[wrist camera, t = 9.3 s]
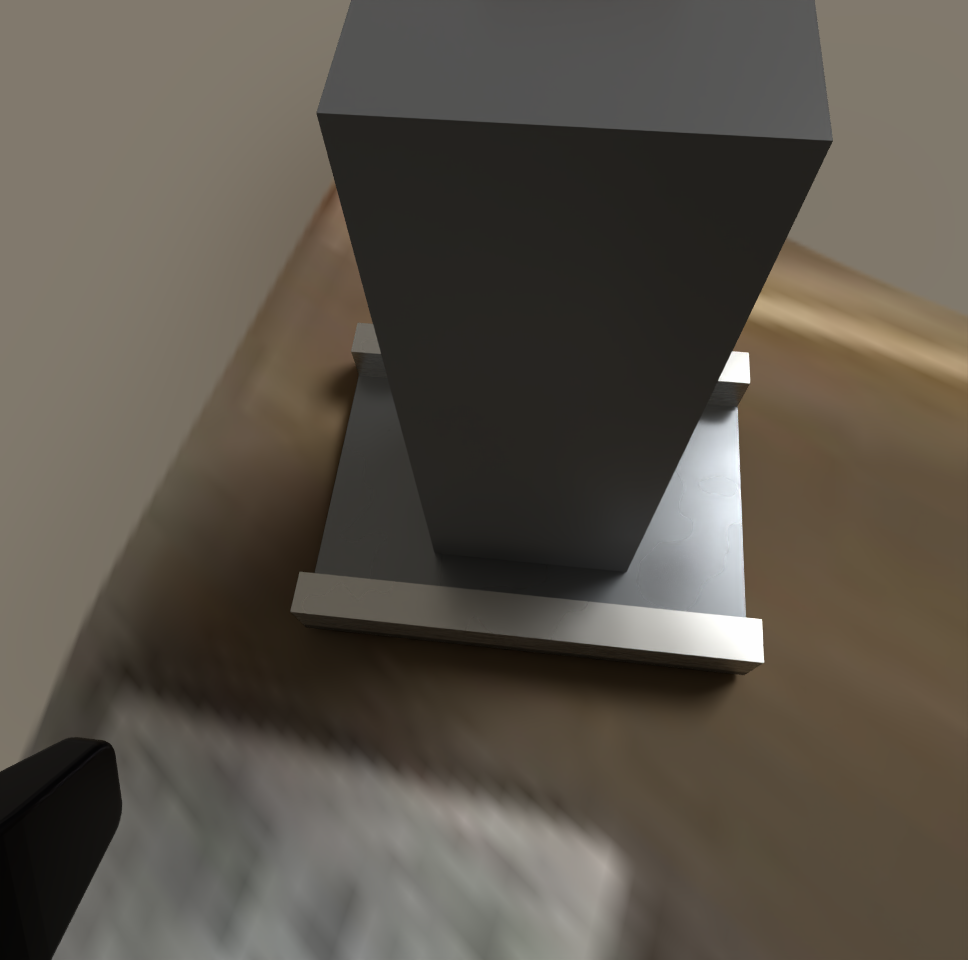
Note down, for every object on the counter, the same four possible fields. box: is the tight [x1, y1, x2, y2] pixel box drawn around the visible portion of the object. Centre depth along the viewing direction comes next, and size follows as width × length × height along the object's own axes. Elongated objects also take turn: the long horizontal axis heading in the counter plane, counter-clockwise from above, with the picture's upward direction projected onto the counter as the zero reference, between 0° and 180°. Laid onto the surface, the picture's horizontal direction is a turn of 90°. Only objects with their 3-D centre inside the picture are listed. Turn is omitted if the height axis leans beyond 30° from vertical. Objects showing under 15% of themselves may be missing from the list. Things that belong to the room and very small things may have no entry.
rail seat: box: [290, 323, 764, 675], centre depth 19 cm, size 8×11×2 cm
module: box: [317, 0, 833, 572], centre depth 13 cm, size 5×5×14 cm
